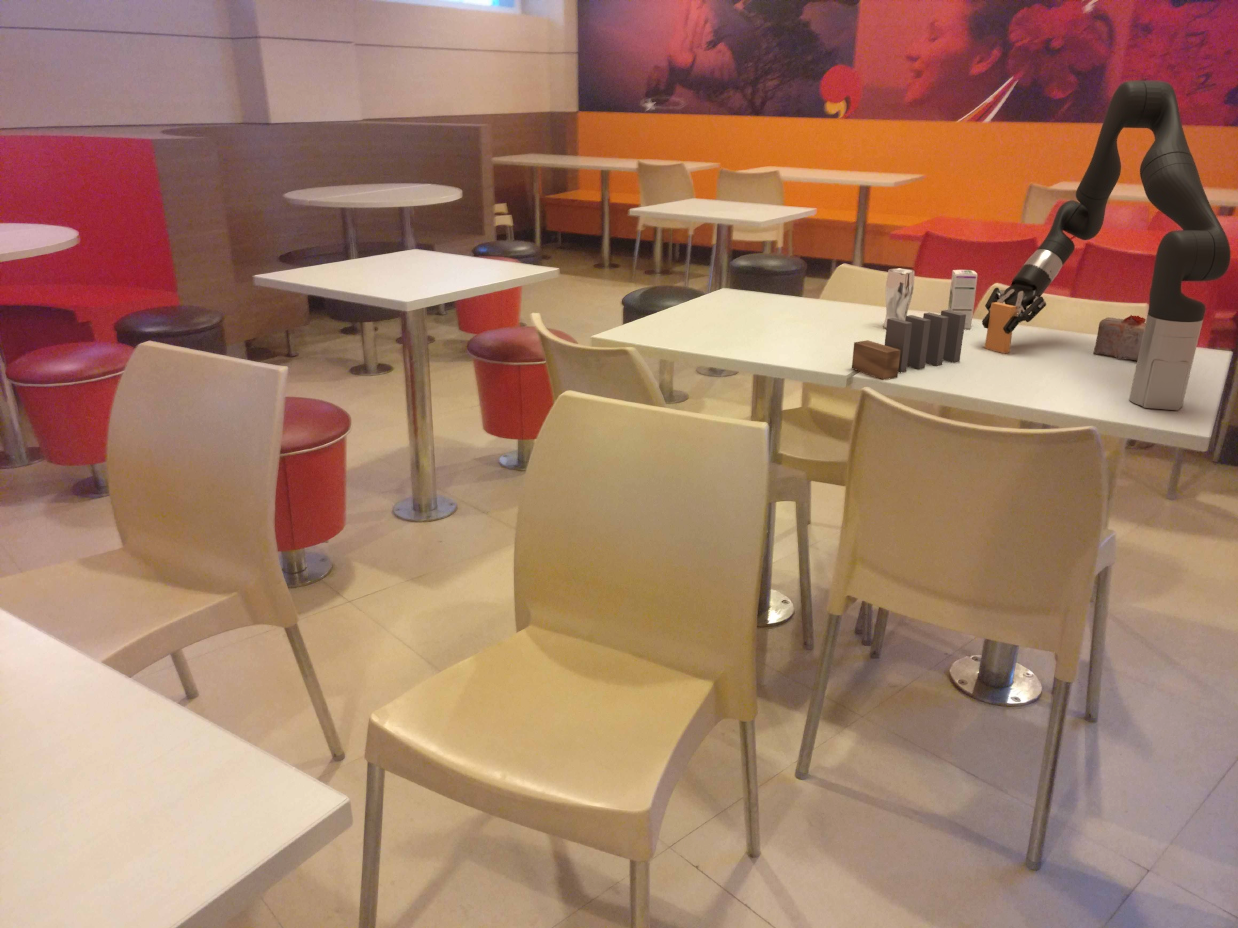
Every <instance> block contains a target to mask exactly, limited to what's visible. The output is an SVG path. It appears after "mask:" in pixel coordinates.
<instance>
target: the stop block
mask: <svg viewBox="0 0 1238 928" xmlns="http://www.w3.org/2000/svg"><path fill="white" fill-rule="evenodd" d="M900 351H901V350H898V349H895V348H892V347H888V346H885V344H882V343H879V342H875V341H872V340H870V339H869V340H868V339H867V340H860V341H854V342H853V351H852V360H851V361H852V362H851V369H852V368H854V369H857V370H858V371H857V370H856V371H857V372H860V371H861V373H863V372H864V373H863V374H866V375H869V376H872V377H874V376H875V378H876V379H877V378H878V379H880V378H881V379H880V380H883V379H885V380H890V379H894V377H896V378H898V374H899V372H898V368H899V360H900ZM854 369H853V370H854ZM889 378H890V379H889Z"/></svg>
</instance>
